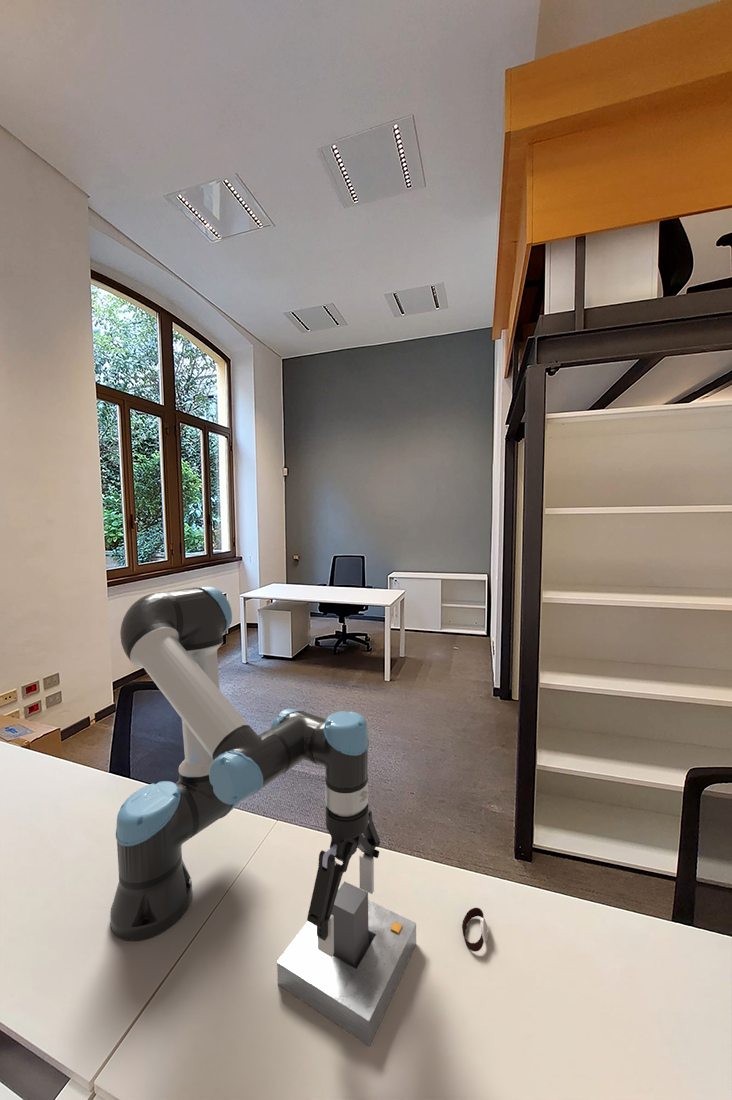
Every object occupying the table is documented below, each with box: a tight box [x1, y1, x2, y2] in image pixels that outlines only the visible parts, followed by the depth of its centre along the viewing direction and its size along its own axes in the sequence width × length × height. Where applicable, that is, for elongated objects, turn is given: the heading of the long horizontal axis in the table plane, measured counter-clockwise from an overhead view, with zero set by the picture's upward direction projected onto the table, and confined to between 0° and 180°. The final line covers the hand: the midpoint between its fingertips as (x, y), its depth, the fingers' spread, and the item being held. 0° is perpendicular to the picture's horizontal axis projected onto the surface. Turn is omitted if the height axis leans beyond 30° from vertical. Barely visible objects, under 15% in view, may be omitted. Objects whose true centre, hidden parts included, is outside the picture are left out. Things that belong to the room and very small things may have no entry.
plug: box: [331, 881, 369, 969], centre depth 76 cm, size 5×5×12 cm
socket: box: [276, 885, 417, 1047], centre depth 76 cm, size 18×18×4 cm
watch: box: [461, 907, 489, 952], centre depth 81 cm, size 8×5×4 cm, turn 160°
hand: (347, 918), depth 76 cm, fingers open, 13 cm apart
